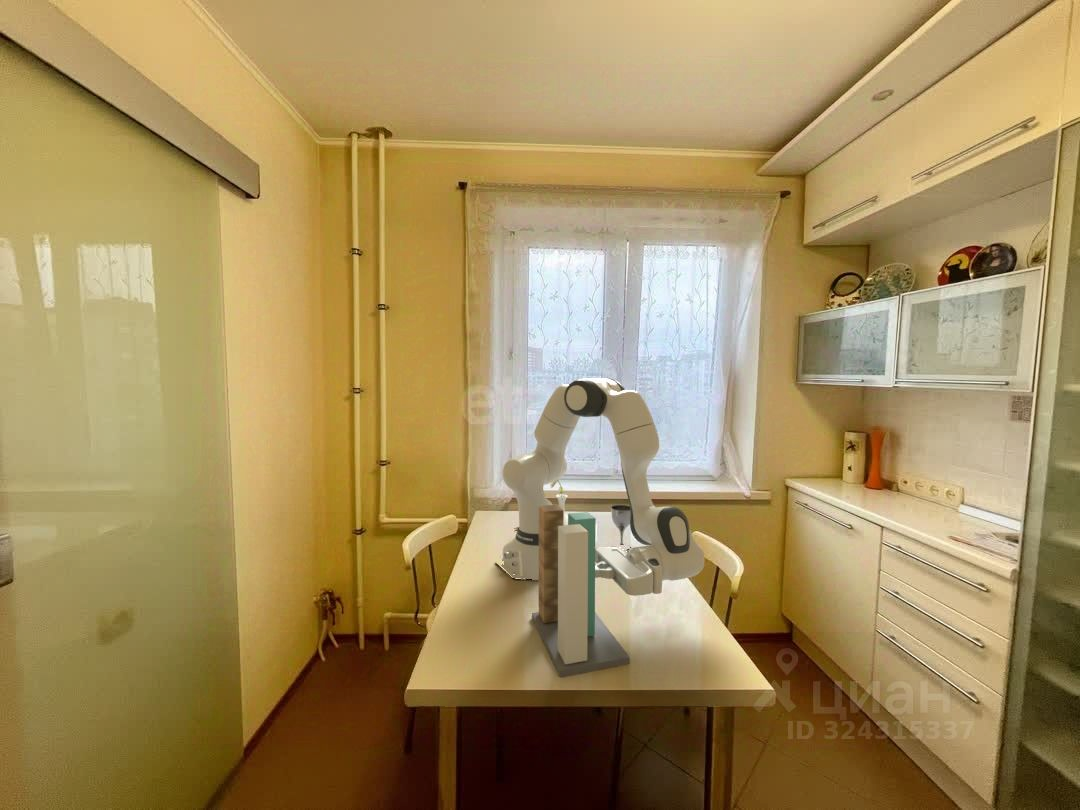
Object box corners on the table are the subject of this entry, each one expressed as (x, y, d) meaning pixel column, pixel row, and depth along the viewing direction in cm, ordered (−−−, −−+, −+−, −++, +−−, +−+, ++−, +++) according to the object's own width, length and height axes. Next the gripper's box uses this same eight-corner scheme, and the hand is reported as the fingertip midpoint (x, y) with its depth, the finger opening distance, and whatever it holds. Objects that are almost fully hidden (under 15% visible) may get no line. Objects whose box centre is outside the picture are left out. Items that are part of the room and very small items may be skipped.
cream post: (578, 646, 95) (579, 524, 94) (587, 660, 90) (588, 531, 89) (557, 650, 94) (558, 526, 93) (565, 664, 89) (565, 533, 88)
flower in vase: (553, 522, 188) (553, 466, 187) (578, 525, 184) (578, 468, 183) (543, 531, 176) (543, 471, 175) (569, 535, 172) (569, 474, 171)
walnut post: (557, 610, 111) (557, 504, 109) (563, 620, 106) (563, 510, 105) (538, 613, 109) (538, 506, 108) (544, 623, 104) (544, 511, 103)
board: (589, 609, 114) (589, 604, 114) (629, 663, 92) (629, 657, 92) (532, 618, 110) (532, 613, 110) (559, 677, 88) (559, 670, 88)
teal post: (586, 623, 104) (587, 511, 103) (594, 635, 99) (595, 518, 98) (567, 627, 103) (568, 513, 102) (574, 638, 98) (575, 519, 97)
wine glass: (636, 548, 158) (637, 508, 157) (620, 552, 154) (620, 511, 153) (622, 541, 165) (623, 503, 164) (606, 545, 161) (606, 506, 160)
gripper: (623, 538, 115) (575, 543, 111) (665, 569, 95) (609, 577, 91) (623, 560, 115) (575, 566, 111) (665, 597, 95) (608, 605, 92)
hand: (591, 571), depth 101 cm, fingers closed, pressing on teal post
